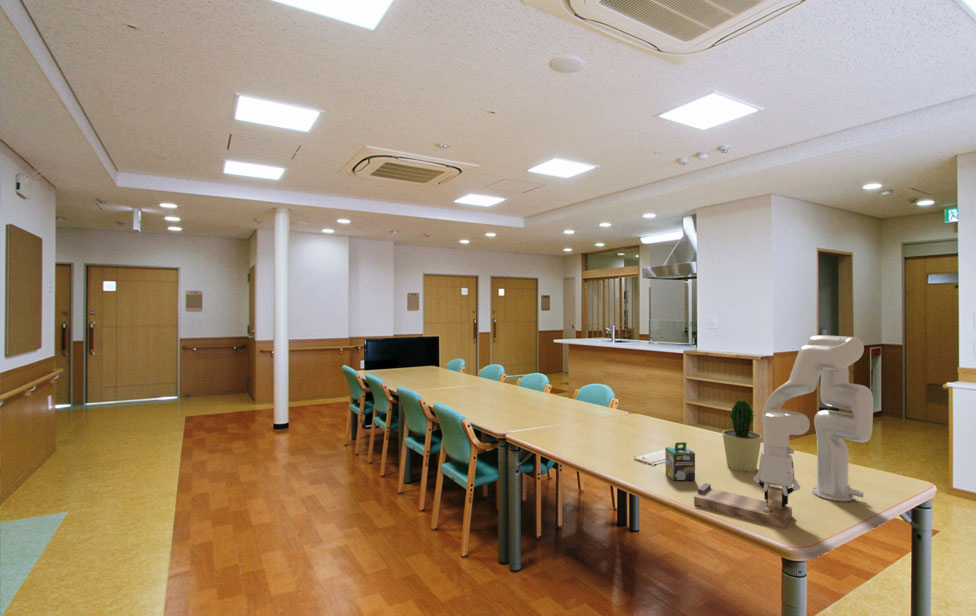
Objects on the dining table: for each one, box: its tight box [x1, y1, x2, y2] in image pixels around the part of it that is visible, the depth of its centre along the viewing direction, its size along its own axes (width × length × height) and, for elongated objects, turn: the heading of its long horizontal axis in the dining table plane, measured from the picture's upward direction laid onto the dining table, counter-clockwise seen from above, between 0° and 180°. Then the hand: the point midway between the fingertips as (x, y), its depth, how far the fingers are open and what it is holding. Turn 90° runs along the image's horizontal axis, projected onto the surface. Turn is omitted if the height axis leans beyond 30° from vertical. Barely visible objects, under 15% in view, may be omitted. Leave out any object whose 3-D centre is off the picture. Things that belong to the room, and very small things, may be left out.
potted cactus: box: [722, 400, 763, 473], centre depth 214 cm, size 15×15×30 cm
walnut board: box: [693, 482, 793, 529], centre depth 169 cm, size 28×12×4 cm, turn 49°
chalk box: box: [665, 441, 696, 482], centre depth 202 cm, size 9×9×15 cm
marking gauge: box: [768, 484, 783, 513], centre depth 163 cm, size 4×12×8 cm, turn 139°
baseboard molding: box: [633, 449, 666, 466], centre depth 229 cm, size 31×3×12 cm
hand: (776, 503), depth 165 cm, fingers closed on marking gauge, 4 cm apart
